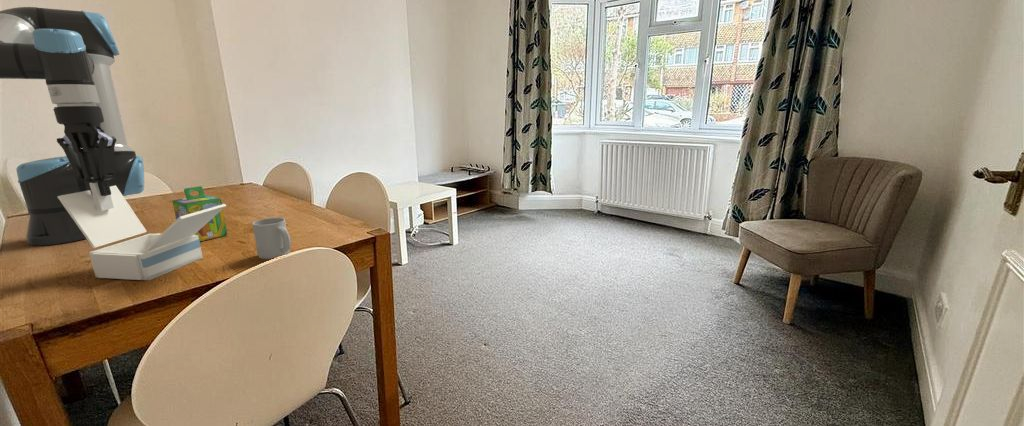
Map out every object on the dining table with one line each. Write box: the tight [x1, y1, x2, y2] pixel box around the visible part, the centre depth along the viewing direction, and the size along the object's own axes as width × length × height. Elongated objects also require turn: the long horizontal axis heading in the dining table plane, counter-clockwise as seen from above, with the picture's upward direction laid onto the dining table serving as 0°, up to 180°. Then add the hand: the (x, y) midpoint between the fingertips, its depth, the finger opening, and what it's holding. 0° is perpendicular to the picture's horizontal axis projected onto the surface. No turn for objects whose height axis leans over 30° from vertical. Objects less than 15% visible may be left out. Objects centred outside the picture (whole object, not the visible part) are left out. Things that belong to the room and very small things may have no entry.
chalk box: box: [171, 185, 228, 242], centre depth 123 cm, size 9×9×15 cm
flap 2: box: [145, 203, 227, 251], centre depth 97 cm, size 1×12×13 cm
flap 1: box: [58, 186, 148, 249], centre depth 100 cm, size 1×12×13 cm, turn 171°
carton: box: [88, 232, 204, 281], centre depth 101 cm, size 14×15×6 cm
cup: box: [252, 217, 292, 260], centre depth 108 cm, size 7×10×9 cm
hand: (105, 209), depth 100 cm, fingers closed
